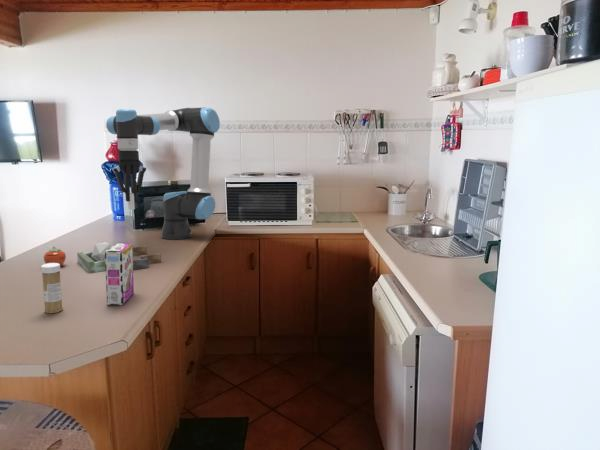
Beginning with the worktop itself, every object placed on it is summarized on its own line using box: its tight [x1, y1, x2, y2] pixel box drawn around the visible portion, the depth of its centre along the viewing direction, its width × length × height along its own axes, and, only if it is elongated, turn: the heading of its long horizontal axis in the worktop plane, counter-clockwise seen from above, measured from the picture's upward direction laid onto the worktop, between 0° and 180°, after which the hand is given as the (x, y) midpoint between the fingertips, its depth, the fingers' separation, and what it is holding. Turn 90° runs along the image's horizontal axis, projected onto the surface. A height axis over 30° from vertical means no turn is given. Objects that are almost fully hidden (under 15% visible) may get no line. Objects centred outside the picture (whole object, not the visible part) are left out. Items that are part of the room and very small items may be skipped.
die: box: [91, 241, 114, 262], centre depth 173 cm, size 8×9×10 cm
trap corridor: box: [76, 245, 162, 274], centre depth 173 cm, size 27×27×4 cm
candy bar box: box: [105, 243, 135, 306], centre depth 132 cm, size 11×5×16 cm, turn 5°
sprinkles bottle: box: [40, 263, 64, 314], centre depth 121 cm, size 5×5×14 cm
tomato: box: [43, 245, 67, 268], centre depth 165 cm, size 7×7×8 cm
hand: (131, 209), depth 176 cm, fingers closed
